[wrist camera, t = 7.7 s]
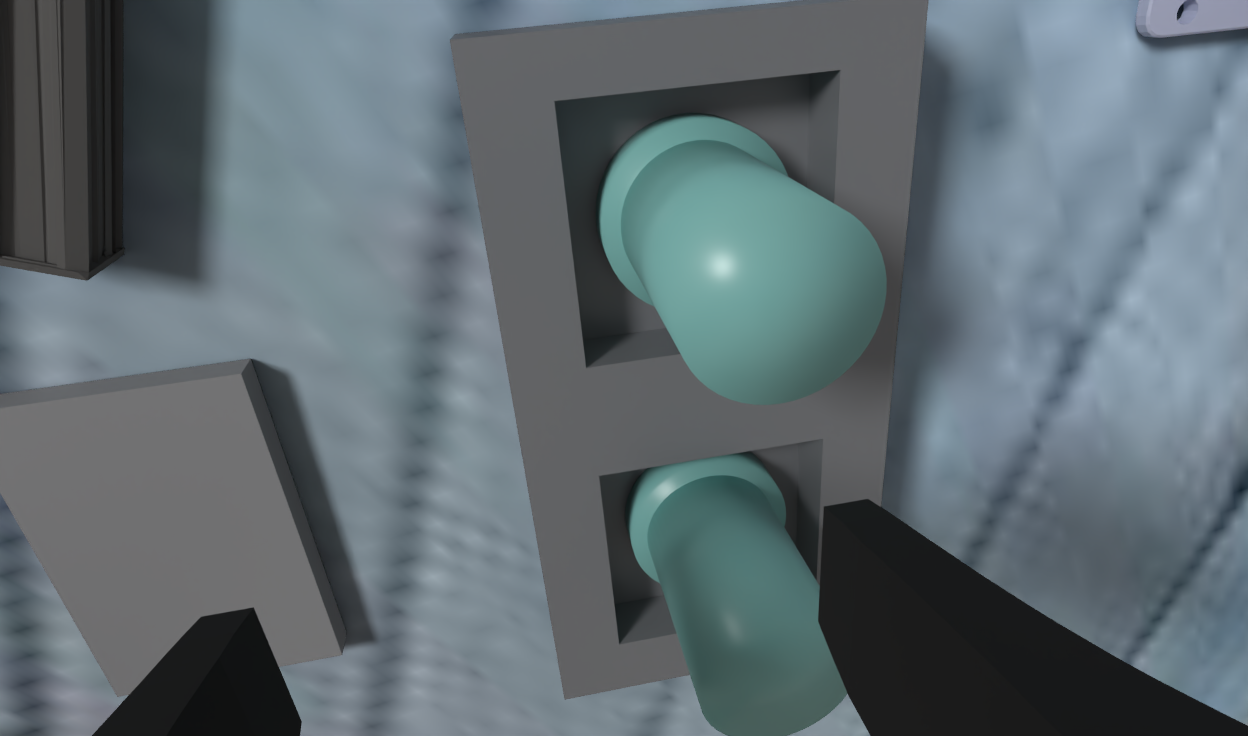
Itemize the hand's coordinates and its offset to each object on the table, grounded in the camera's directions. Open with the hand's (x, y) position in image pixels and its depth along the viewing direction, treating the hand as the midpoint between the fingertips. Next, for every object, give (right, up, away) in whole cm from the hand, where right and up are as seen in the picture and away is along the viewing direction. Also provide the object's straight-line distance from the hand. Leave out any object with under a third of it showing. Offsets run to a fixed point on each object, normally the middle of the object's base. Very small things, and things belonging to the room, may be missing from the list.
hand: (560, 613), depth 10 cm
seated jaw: (+2, +7, +8) cm, 11 cm away
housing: (+2, +3, +10) cm, 11 cm away
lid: (-11, -1, +10) cm, 14 cm away
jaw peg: (+3, -1, +11) cm, 11 cm away
